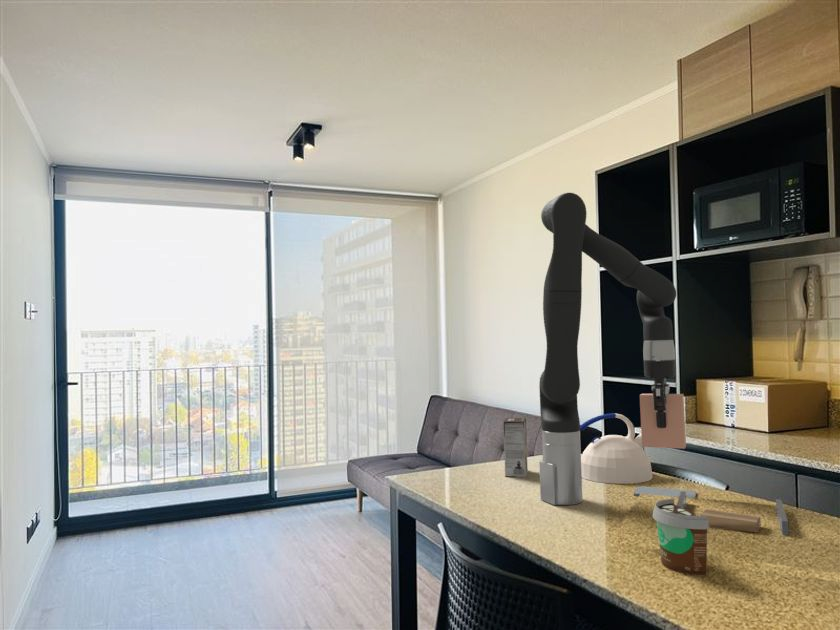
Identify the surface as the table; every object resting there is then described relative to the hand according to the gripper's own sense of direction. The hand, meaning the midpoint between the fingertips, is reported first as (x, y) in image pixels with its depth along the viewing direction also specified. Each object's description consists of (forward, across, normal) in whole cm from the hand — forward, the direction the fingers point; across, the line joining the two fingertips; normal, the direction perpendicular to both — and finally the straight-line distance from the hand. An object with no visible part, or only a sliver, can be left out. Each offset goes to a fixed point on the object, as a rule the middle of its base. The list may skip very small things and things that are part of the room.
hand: (662, 426), depth 157 cm
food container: (+17, +51, +6) cm, 54 cm away
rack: (+17, +21, +15) cm, 31 cm away
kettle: (+17, -17, -15) cm, 29 cm away
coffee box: (+17, -10, -42) cm, 47 cm away
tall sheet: (+5, 0, 0) cm, 5 cm away
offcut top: (+16, +28, +15) cm, 35 cm away
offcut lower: (+18, +27, +14) cm, 36 cm away
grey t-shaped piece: (+17, 0, 0) cm, 17 cm away
